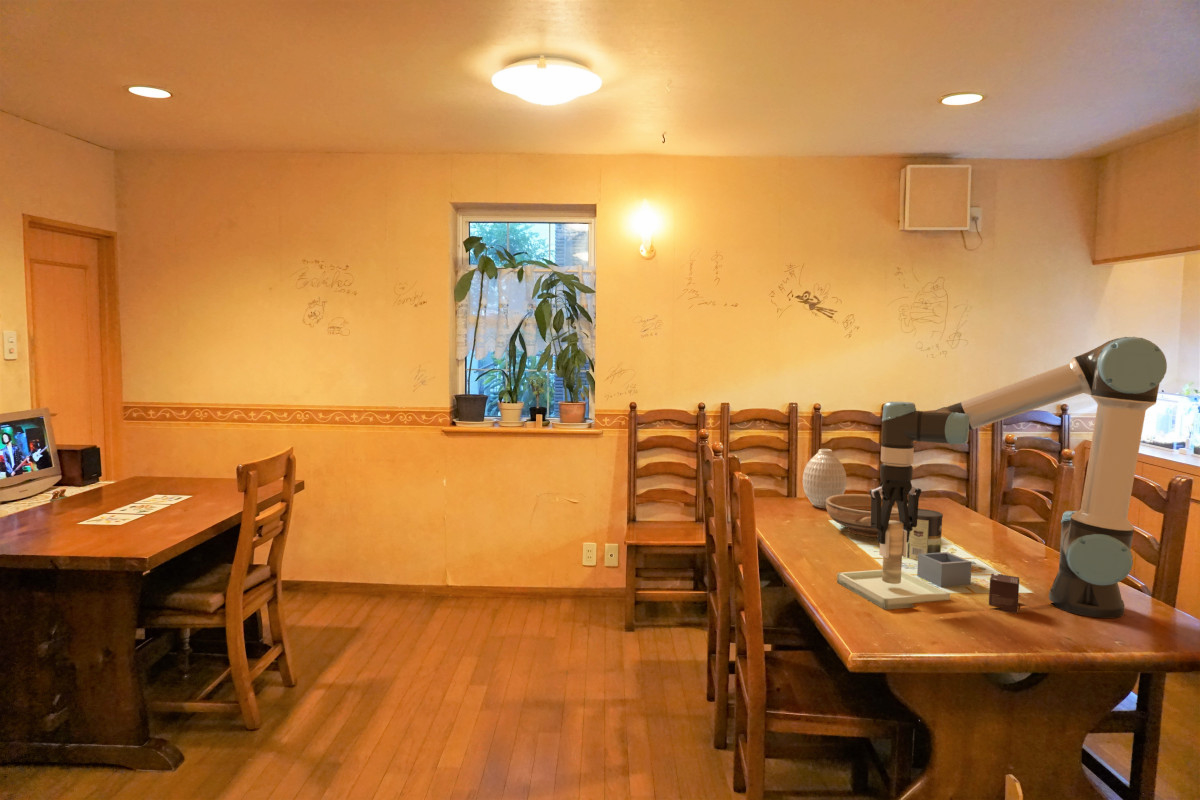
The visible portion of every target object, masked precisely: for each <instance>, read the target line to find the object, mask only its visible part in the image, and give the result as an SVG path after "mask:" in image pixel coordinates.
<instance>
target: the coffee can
mask: <svg viewBox="0 0 1200 800" xmlns="http://www.w3.org/2000/svg"><path fill="white" fill-rule="evenodd" d="M943 516H944V515H943V513H942V512H940V511H938V510H937V511H936V510H931V509H926V508H924V509H923V508H918V518H917V526H916V527H913V530H912V531H909V541H908V542H907V545H906V556H905V557H903V556H902V559H903V558H905V559H906V558H907V559H909V560H913V561H917V562H918V554H925V553H940V552H942V531H943V518H944V517H943Z"/></svg>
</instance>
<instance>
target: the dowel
mask: <svg viewBox="0 0 1200 800" xmlns="http://www.w3.org/2000/svg"><path fill="white" fill-rule="evenodd" d="M903 525H904V523H902V522H899V521H892V520H889V523H888V528H887V531H888V532H890V538H889V558H885V557H883V556H882V569H883V570H882V569H881V570H882V581H884V582H886V583H891V584H899V583H901V571H902V566H903V565H902V564H903V563H902V561H903V556H902V546H903Z"/></svg>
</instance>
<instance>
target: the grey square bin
mask: <svg viewBox="0 0 1200 800" xmlns="http://www.w3.org/2000/svg"><path fill="white" fill-rule="evenodd" d="M972 563H973V562H972V561H971V560H969V559H966V558H964V557H960V556H958V555H955V554H953V553H950V552H948V551H945V552H943V551H941V552H940V553H925V554H918V561H917V572H916V573H917V574H916V575H917V578H919V579H921V580H923V581H924V580H925V582H928V583H930V584H932V585H934V586H935V585H936V587H938V588H939V587H940V588H947V587H949V588H950V587H958V586H959V587H960V586H970V585H971V582H972V581H971V580H972V566H973V565H972Z"/></svg>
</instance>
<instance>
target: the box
mask: <svg viewBox="0 0 1200 800" xmlns="http://www.w3.org/2000/svg"><path fill="white" fill-rule="evenodd" d="M1019 591H1020V576H1013V575H1012V576H1011V575H1005V574H1000V573H991V575H990V579H989V591H988V593H989V594H988V605H989V606H991V608H990V610H994V611H999V612H1005V613H1010V614H1018V611H1019V610H1018V609H1019V597H1020V594H1019ZM994 607H995V608H994Z"/></svg>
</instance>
